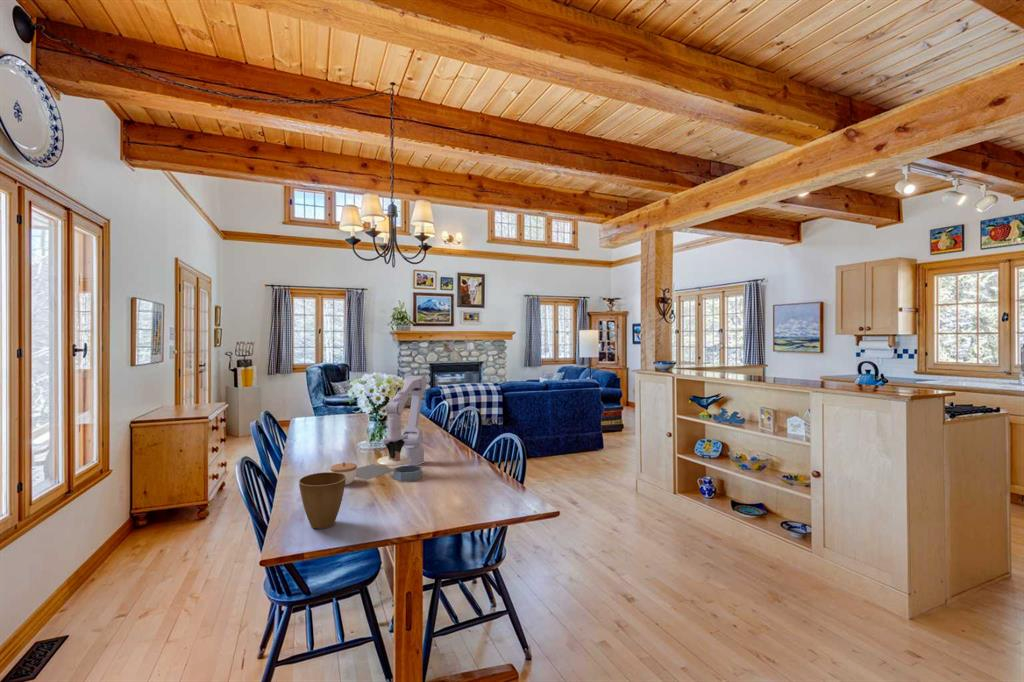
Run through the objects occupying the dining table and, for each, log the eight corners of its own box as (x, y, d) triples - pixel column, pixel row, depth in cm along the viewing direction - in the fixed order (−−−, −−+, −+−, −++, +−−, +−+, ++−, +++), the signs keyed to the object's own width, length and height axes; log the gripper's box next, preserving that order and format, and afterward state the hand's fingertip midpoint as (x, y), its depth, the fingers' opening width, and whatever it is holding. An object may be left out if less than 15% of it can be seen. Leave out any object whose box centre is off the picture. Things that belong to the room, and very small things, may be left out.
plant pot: (289, 532, 158) (289, 483, 158) (315, 515, 173) (315, 470, 172) (331, 535, 155) (330, 486, 155) (354, 518, 170) (354, 473, 170)
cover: (395, 454, 231) (395, 446, 231) (417, 460, 222) (418, 451, 222) (370, 461, 219) (370, 452, 219) (392, 468, 210) (392, 458, 210)
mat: (372, 464, 239) (372, 463, 239) (397, 470, 229) (397, 469, 229) (341, 473, 224) (341, 472, 224) (366, 480, 214) (366, 479, 214)
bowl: (408, 472, 226) (408, 464, 226) (427, 476, 219) (427, 468, 219) (388, 478, 216) (388, 470, 216) (407, 483, 209) (407, 474, 209)
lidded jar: (361, 480, 213) (360, 459, 213) (350, 488, 203) (350, 466, 202) (337, 479, 214) (337, 458, 214) (326, 487, 204) (325, 465, 204)
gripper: (400, 424, 228) (401, 452, 228) (376, 429, 216) (376, 459, 217) (411, 425, 224) (411, 455, 224) (386, 431, 212) (386, 461, 213)
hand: (394, 457), depth 220 cm, fingers closed on cover, 2 cm apart
